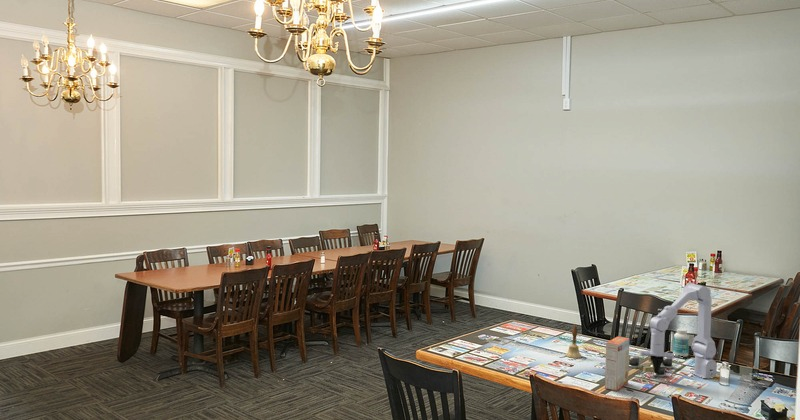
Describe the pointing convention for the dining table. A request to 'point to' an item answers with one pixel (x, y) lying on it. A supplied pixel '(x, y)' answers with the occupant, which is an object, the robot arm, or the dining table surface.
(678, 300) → the robot arm
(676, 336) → the pill bottle
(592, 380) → the dining table surface
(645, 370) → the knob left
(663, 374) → the levelling base
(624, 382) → the cracker box
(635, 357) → the knob
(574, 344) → the hand bell
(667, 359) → the knob
